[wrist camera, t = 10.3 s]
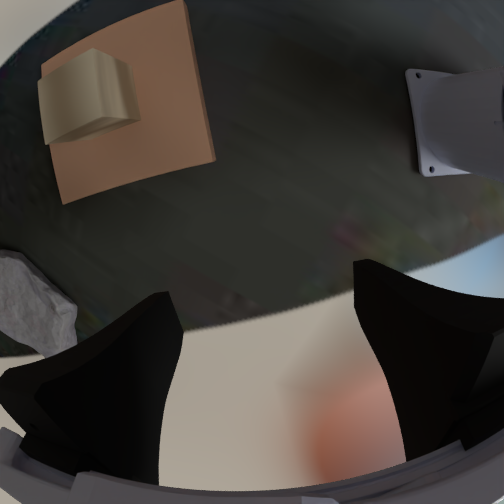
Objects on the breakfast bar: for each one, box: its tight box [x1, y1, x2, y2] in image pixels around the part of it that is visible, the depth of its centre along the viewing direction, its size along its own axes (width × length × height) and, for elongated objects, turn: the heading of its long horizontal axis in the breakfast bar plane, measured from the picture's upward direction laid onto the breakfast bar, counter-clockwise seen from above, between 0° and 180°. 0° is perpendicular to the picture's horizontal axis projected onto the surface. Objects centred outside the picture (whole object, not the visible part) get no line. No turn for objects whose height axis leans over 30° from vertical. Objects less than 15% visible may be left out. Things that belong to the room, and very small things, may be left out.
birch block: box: [38, 48, 141, 145], centre depth 12 cm, size 4×4×5 cm
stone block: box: [0, 249, 77, 358], centre depth 22 cm, size 12×5×10 cm
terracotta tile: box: [41, 0, 216, 205], centre depth 16 cm, size 12×12×2 cm
